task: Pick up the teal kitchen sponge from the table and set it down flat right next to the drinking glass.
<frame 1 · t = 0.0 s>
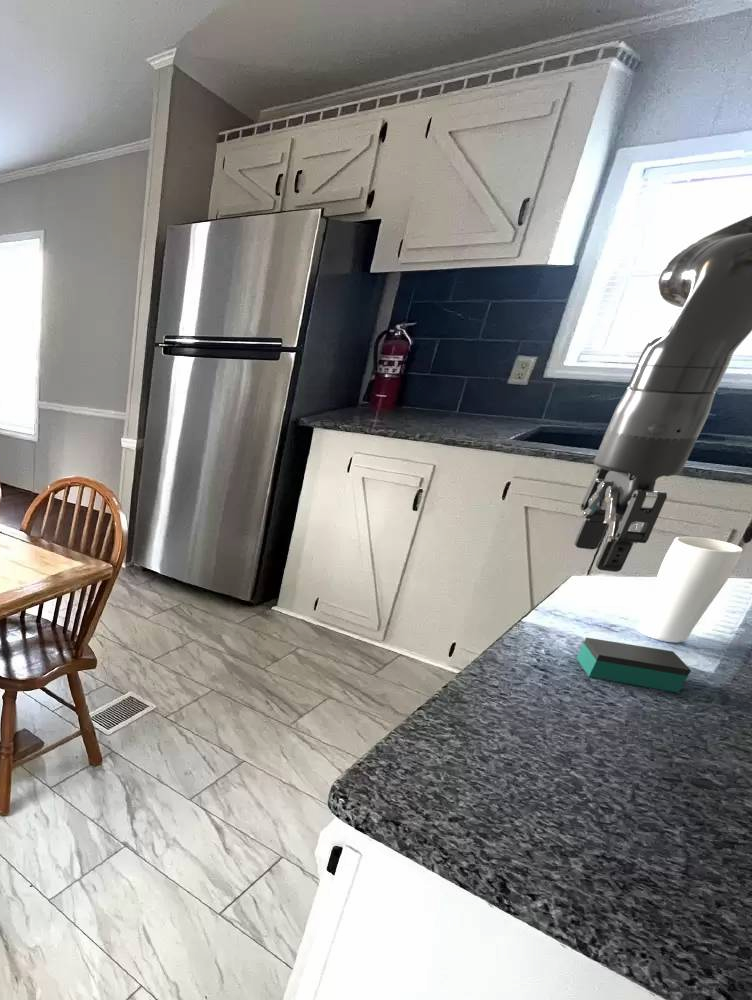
hand: (595, 558, 81), 17 cm above the worktop, tool pointing down, fingers open, 8 cm apart
sponge: (625, 674, 87), on the worktop
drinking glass: (659, 636, 97), on the worktop
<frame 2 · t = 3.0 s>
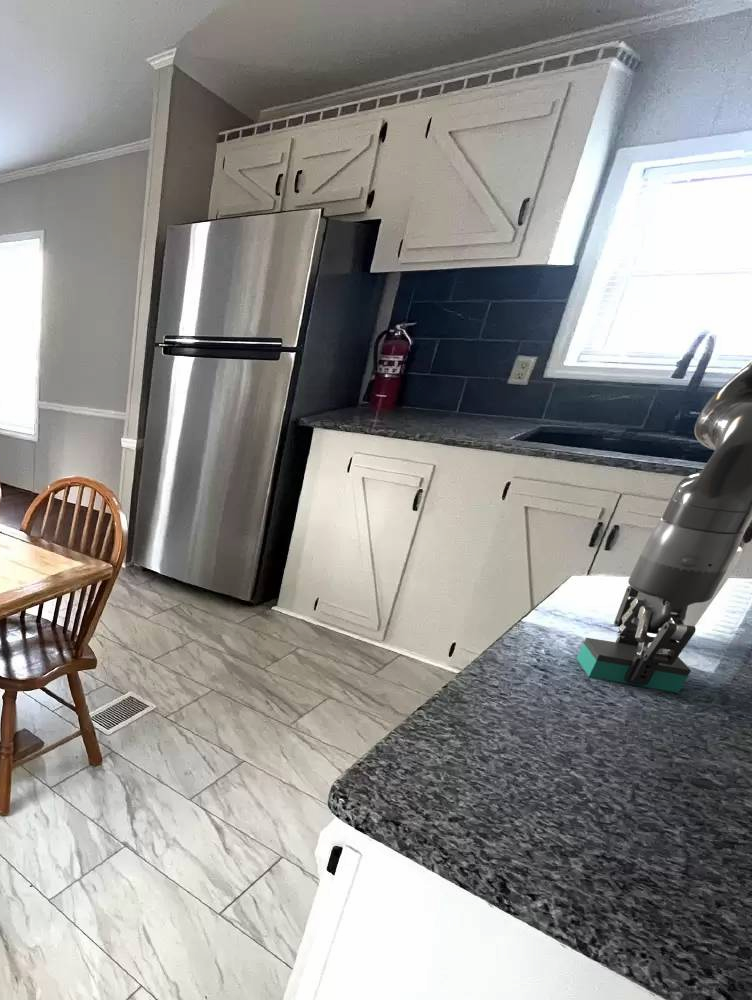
hand: (626, 671, 87), 1 cm above the worktop, tool pointing down, fingers closed on sponge, 5 cm apart
sponge: (625, 675, 87), on the worktop, touching gripper
everything else where it was.
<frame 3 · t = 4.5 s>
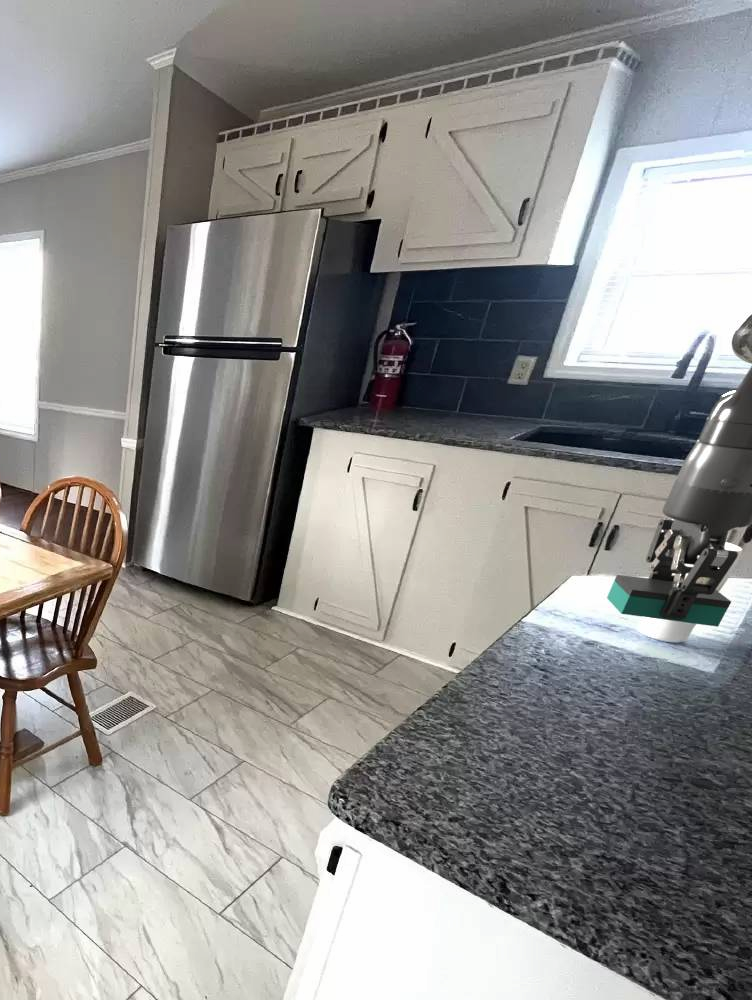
hand: (661, 607, 83), 10 cm above the worktop, tool pointing down, fingers closed on sponge, 5 cm apart
sponge: (659, 611, 83), point 10 cm above the worktop, touching gripper
everything else where it was.
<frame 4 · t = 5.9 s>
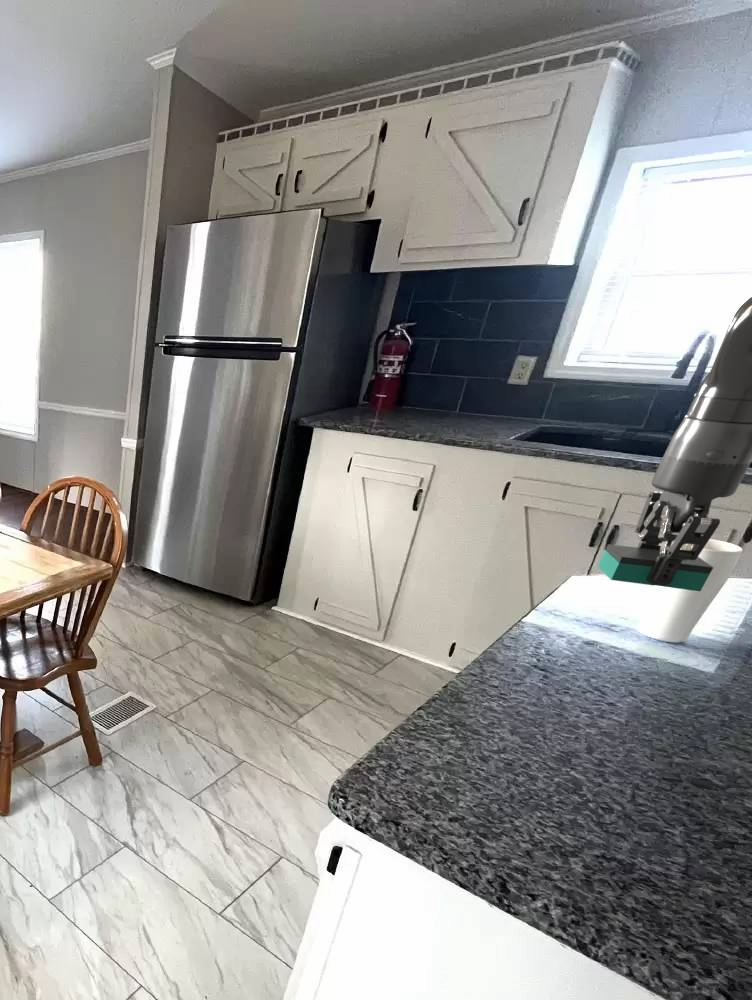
hand: (648, 575, 88), 12 cm above the worktop, tool pointing down, fingers closed on sponge, 5 cm apart
sponge: (646, 578, 89), point 11 cm above the worktop, touching gripper
everything else where it was.
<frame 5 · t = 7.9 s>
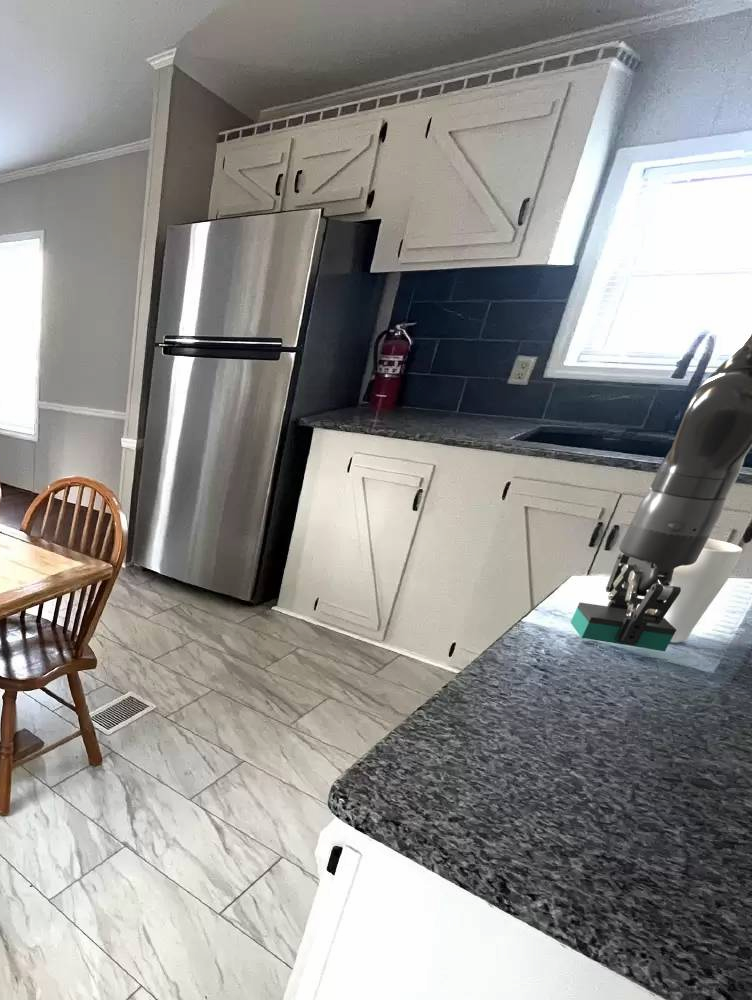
hand: (617, 633, 93), 2 cm above the worktop, tool pointing down, fingers closed on sponge, 5 cm apart
sponge: (615, 636, 93), point 2 cm above the worktop, touching gripper
everything else where it was.
when the fingers open (0 cm above the worktop, at t = 9.0 s): sponge stays where it is, on the worktop.
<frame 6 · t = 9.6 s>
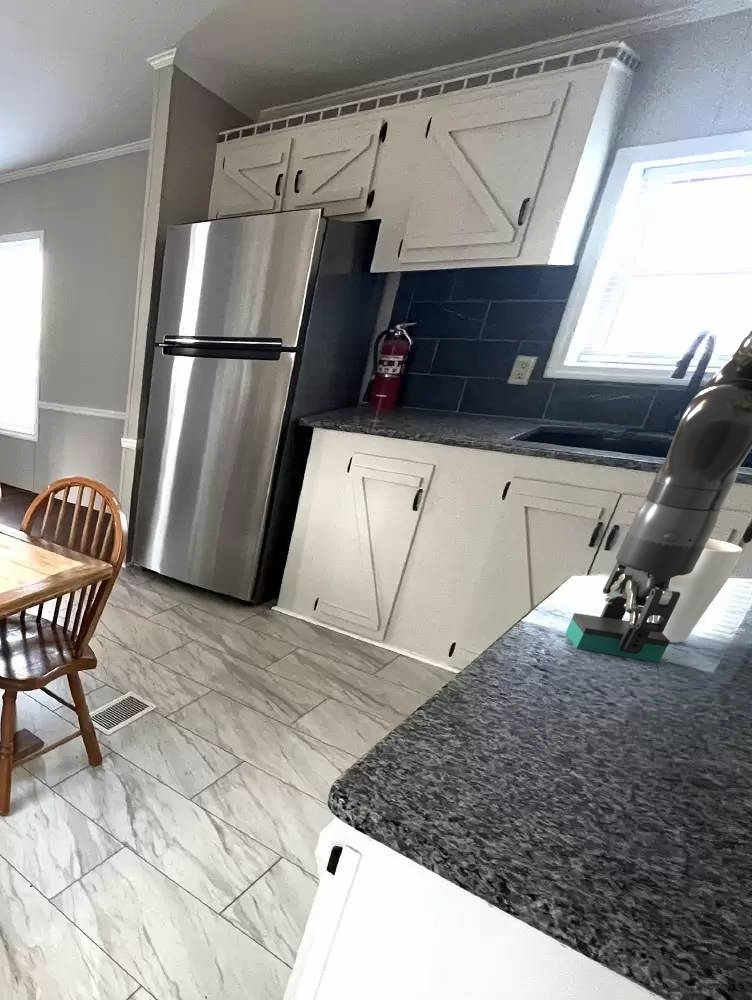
hand: (616, 638, 93), 2 cm above the worktop, tool pointing down, fingers open, 8 cm apart
sponge: (610, 647, 94), on the worktop
everything else where it was.
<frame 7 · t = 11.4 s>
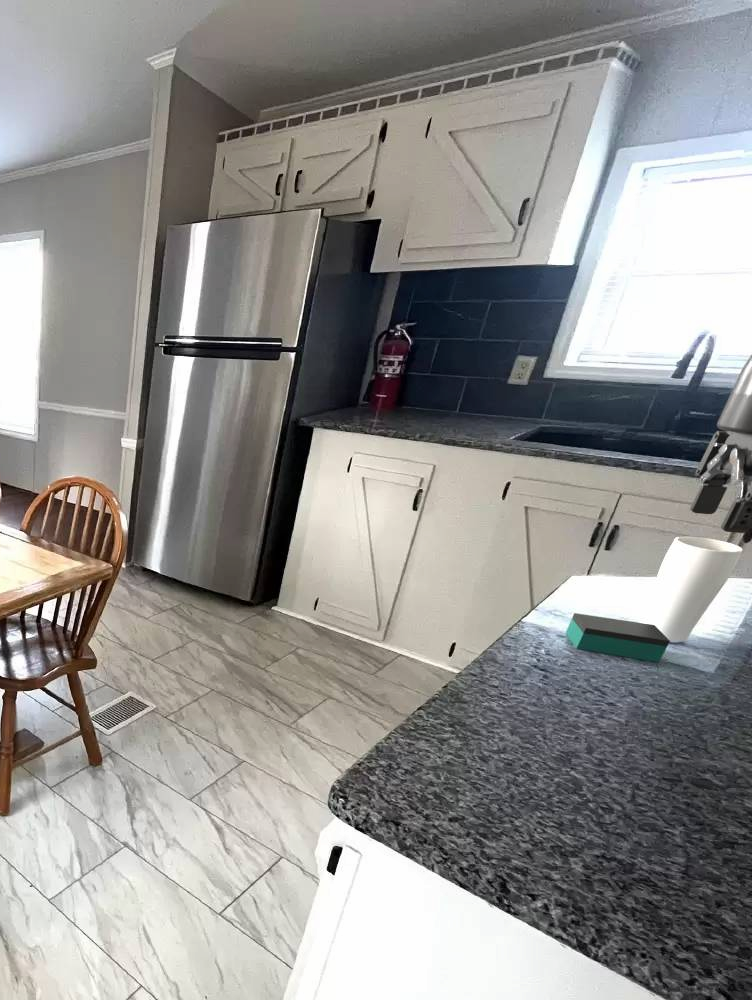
hand: (716, 521, 81), 21 cm above the worktop, tool pointing down, fingers open, 8 cm apart
nothing on the worktop moved.
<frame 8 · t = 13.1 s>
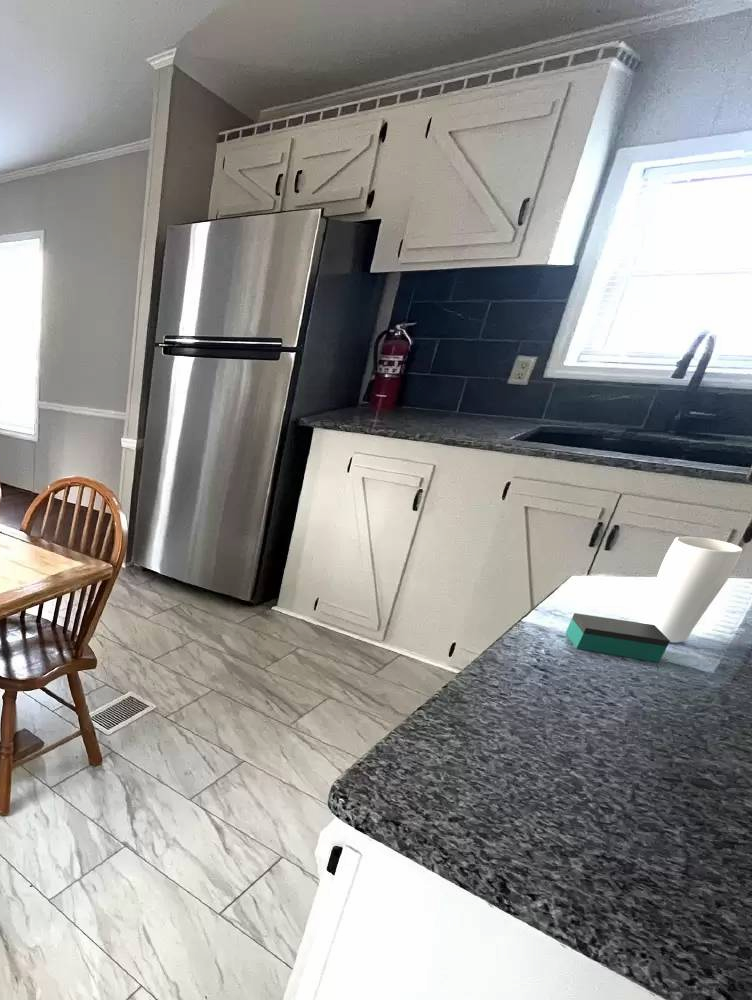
nothing on the worktop moved.
at the end: sponge 10.9 cm from the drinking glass (horizontally); sponge moved 9.0 cm from its start; sponge on the worktop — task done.
